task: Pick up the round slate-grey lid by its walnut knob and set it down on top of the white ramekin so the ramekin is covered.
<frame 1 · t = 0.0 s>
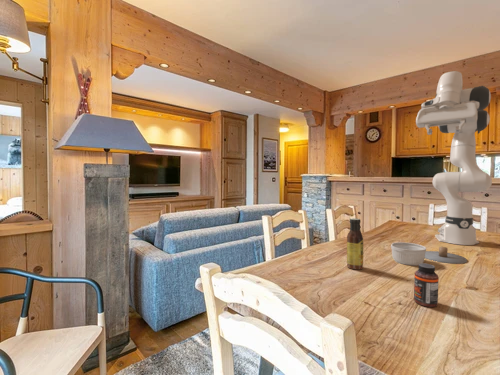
hand: (443, 132, 108), 54 cm above the table, tool tilted 30°, fingers open, 8 cm apart
lid: (442, 258, 124), on the table
sauce bottle: (354, 268, 111), on the table
supplement bottle: (425, 303, 80), on the table
ramekin: (407, 262, 118), on the table
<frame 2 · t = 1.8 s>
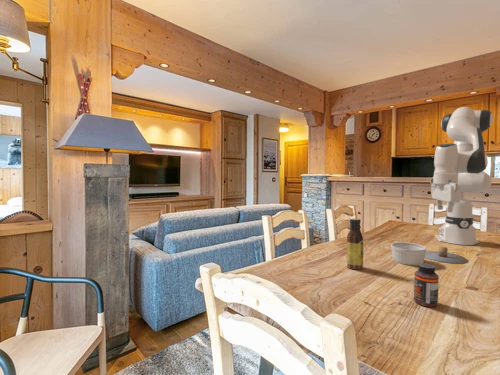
hand: (444, 210, 122), 21 cm above the table, tool pointing down, fingers open, 8 cm apart
nothing on the table moved.
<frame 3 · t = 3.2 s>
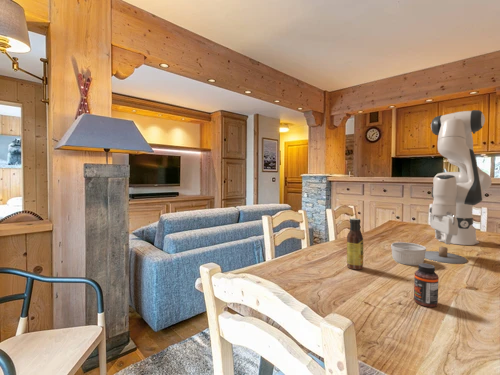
hand: (442, 241, 123), 7 cm above the table, tool pointing down, fingers open, 8 cm apart
nothing on the table moved.
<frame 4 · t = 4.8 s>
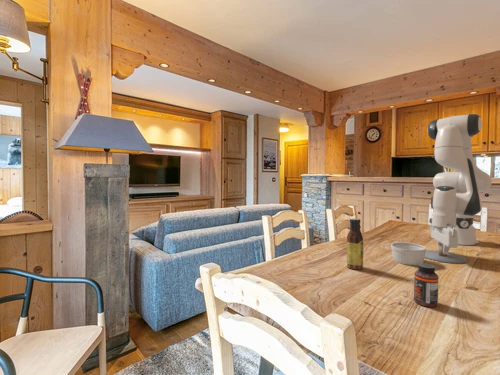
hand: (443, 252, 124), 2 cm above the table, tool pointing down, fingers closed on lid, 3 cm apart
lid: (442, 257, 124), on the table, touching gripper
everything else where it was.
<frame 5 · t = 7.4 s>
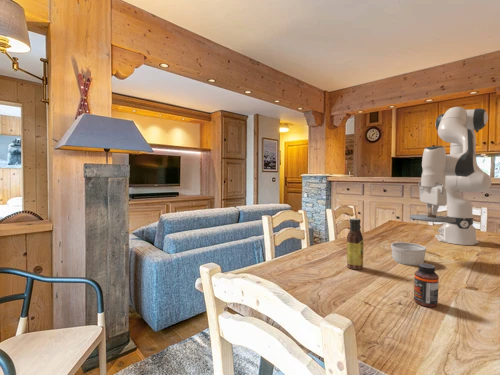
hand: (431, 214, 120), 20 cm above the table, tool pointing down, fingers closed on lid, 3 cm apart
lid: (431, 219, 120), point 18 cm above the table, touching gripper
everything else where it was.
when the fingers open (11 cm above the table, at t = 10.3 s): lid drops 2 cm, resting on ramekin.
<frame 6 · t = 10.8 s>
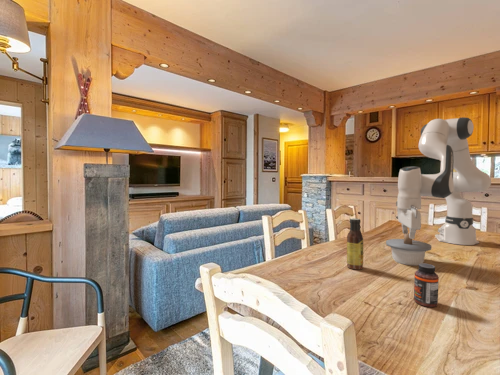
hand: (408, 236, 118), 11 cm above the table, tool pointing down, fingers open, 8 cm apart
lid: (407, 245, 118), point 7 cm above the table, touching ramekin
ramekin: (407, 262, 118), on the table, touching lid
everything else where it was.
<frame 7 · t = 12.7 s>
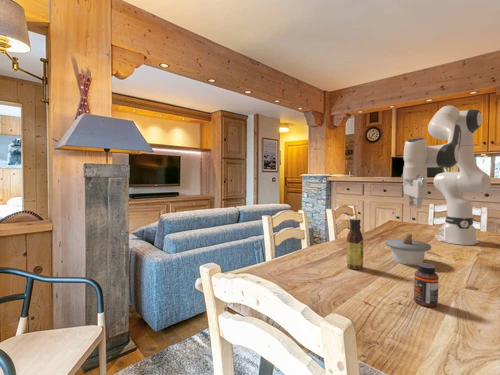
hand: (414, 206, 120), 24 cm above the table, tool pointing down, fingers open, 8 cm apart
nothing on the table moved.
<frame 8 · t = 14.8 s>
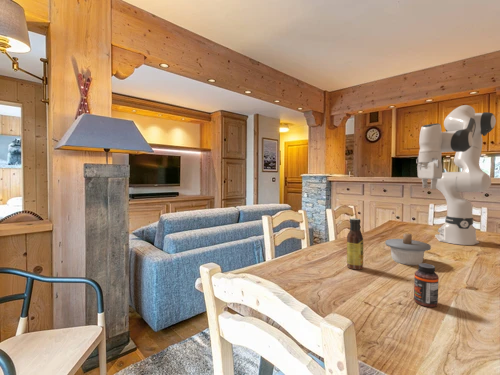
hand: (428, 188, 127), 31 cm above the table, tool pointing down, fingers open, 8 cm apart
nothing on the table moved.
at the end: lid 0.1 cm off-centre on the ramekin, point 7.1 cm above the ramekin's base; lid tilted 0°; ramekin moved 0.5 cm from its start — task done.
